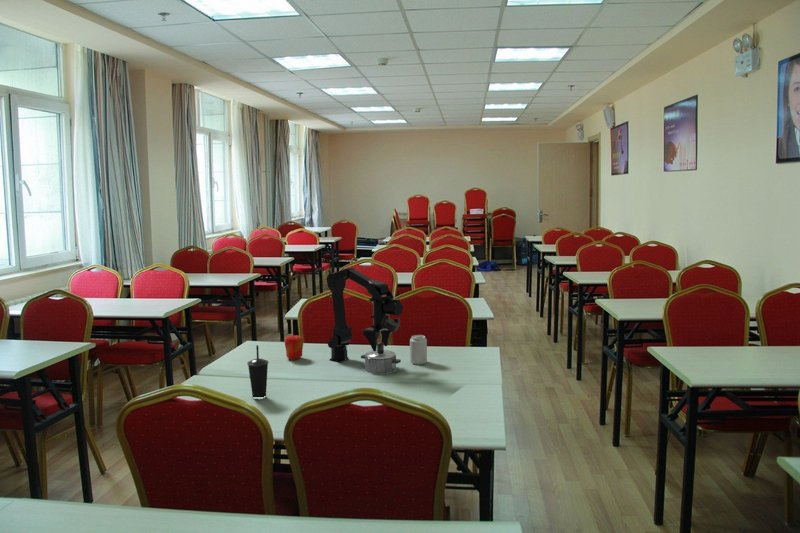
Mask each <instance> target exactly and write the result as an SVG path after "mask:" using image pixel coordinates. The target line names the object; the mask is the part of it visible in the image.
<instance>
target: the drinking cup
mask: <svg viewBox="0 0 800 533" xmlns="http://www.w3.org/2000/svg"><path fill="white" fill-rule="evenodd" d="M259 356H260V354H259V345H256V358H254V359H251V360H248V361H247V366H248V373H249V380H250V387H251V388H250V389H251V394H252V398H253V397H264V396H266V397H267V385H268V383H267V382H268V366H269V363H270V362H269V361H268V360H267V359H265V358H260V357H259Z"/></svg>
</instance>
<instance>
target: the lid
mask: <svg viewBox="0 0 800 533" xmlns="http://www.w3.org/2000/svg"><path fill="white" fill-rule="evenodd" d="M365 354H366V357H367V358H370V359H376V360H384V359H390V358H393V357H395V354H396V352H395V351H393V350H389V349H385V346H384V343H383V341H382V342H377V349H376V351H373V350H369V351H367V352H366V353H365Z"/></svg>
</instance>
